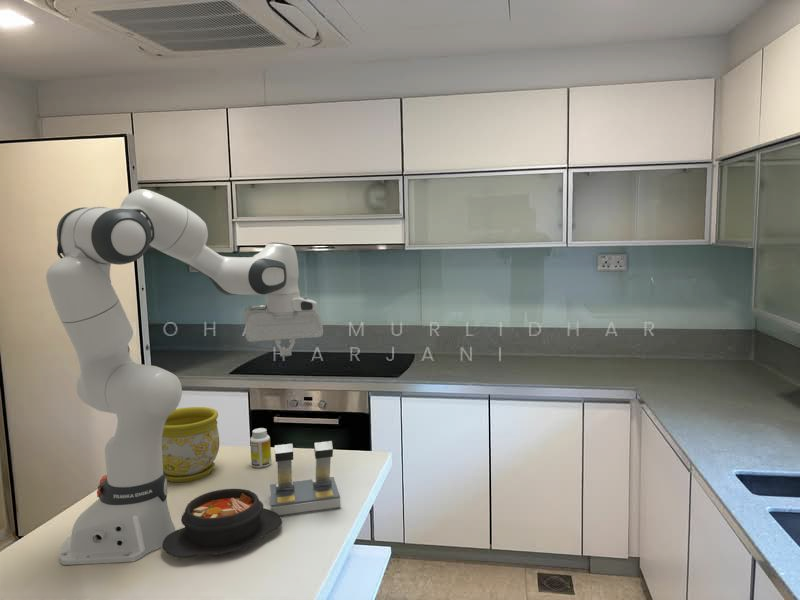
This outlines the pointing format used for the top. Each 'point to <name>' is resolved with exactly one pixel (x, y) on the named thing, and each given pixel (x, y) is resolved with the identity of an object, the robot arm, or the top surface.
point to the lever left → (284, 467)
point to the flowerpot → (190, 443)
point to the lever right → (323, 463)
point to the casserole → (221, 524)
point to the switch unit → (304, 498)
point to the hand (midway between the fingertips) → (285, 355)
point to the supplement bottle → (260, 448)
